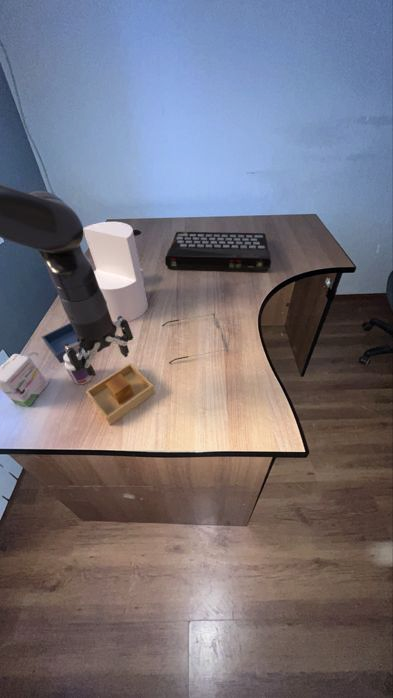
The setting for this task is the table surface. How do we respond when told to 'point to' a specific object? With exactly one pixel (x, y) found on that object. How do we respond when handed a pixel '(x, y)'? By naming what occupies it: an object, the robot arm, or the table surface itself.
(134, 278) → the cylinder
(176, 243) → the computer keyboard
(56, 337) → the slate bin
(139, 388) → the sand bin
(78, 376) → the pill bottle
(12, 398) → the ink box
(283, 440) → the table surface
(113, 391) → the ochre block
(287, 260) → the table surface
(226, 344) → the eyeglasses
